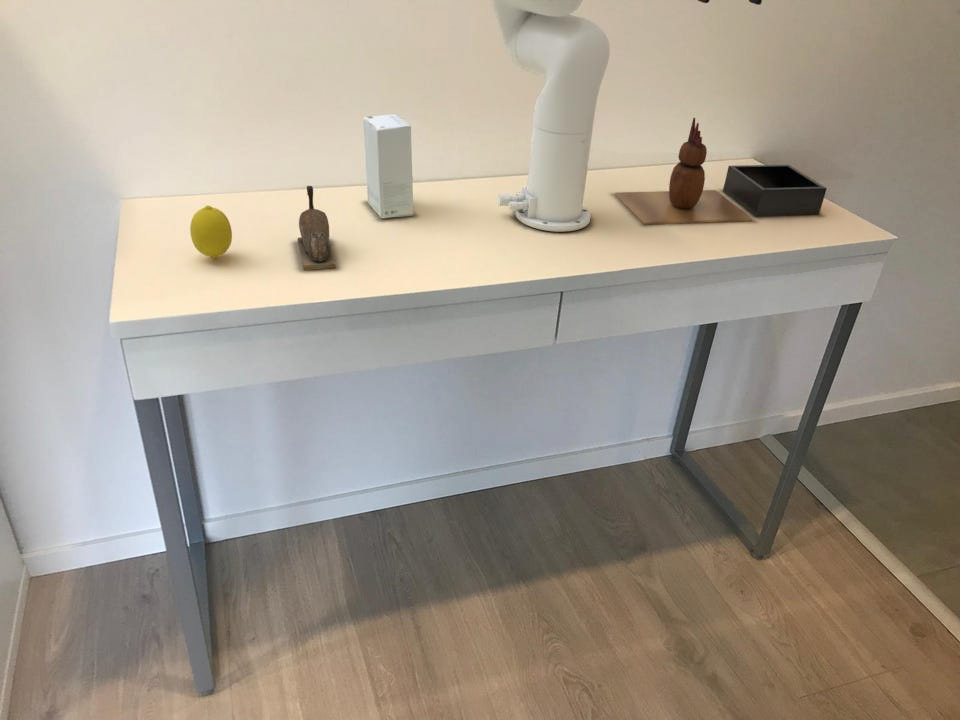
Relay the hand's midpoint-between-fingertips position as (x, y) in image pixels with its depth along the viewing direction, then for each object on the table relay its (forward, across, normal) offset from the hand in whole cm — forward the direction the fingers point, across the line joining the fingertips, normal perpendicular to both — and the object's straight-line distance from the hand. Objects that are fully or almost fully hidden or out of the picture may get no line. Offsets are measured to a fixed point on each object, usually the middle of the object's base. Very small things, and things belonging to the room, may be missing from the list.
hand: (728, 2), depth 135 cm
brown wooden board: (+32, +7, +11) cm, 35 cm away
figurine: (+32, +72, +23) cm, 82 cm away
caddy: (+32, -11, +10) cm, 36 cm away
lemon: (+32, +86, +25) cm, 95 cm away
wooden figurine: (+32, +7, +11) cm, 35 cm away
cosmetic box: (+32, +59, +8) cm, 68 cm away
